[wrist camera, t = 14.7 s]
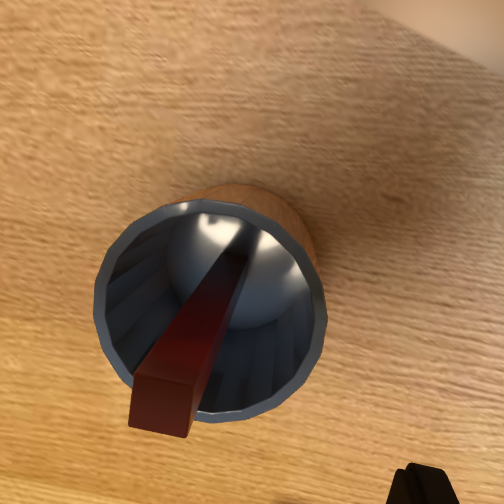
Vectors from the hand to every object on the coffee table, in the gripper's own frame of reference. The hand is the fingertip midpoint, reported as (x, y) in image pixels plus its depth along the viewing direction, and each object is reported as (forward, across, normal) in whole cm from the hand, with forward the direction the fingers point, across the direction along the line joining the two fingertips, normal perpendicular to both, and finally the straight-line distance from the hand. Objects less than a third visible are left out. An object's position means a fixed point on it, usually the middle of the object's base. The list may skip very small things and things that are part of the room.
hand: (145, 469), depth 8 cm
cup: (+17, +1, 0) cm, 17 cm away
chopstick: (+17, +1, +1) cm, 17 cm away
